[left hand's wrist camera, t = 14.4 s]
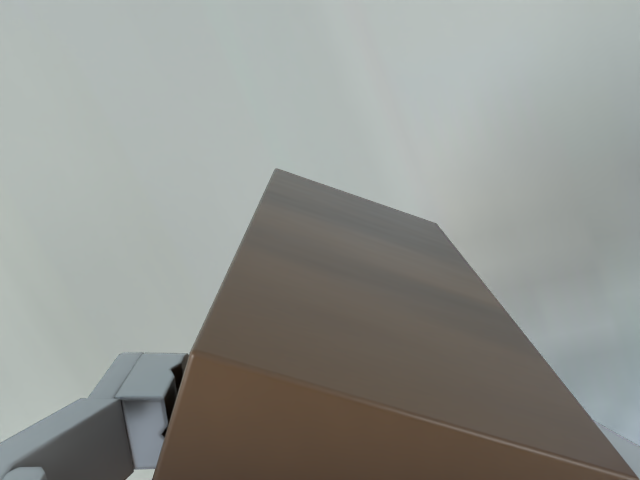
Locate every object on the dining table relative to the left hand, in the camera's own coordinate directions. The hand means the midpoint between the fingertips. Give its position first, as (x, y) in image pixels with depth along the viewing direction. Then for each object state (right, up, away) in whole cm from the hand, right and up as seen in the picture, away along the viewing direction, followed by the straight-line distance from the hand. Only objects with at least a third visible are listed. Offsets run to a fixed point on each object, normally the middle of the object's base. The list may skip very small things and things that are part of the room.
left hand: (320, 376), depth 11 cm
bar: (-3, -6, +6) cm, 9 cm away
